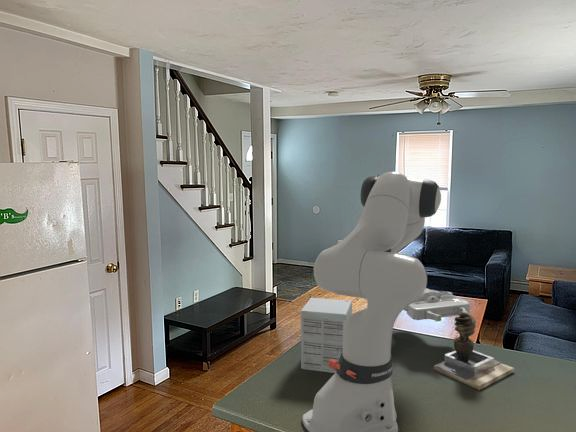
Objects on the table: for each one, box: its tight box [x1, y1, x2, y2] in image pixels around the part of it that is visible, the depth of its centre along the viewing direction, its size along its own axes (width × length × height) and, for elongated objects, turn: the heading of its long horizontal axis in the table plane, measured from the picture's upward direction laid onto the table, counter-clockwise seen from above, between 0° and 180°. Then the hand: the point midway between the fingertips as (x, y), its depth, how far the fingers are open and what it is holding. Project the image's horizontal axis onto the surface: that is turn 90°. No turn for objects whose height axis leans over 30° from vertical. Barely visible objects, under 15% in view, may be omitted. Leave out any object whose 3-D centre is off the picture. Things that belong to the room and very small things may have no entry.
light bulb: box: [453, 313, 477, 362], centre depth 123 cm, size 6×6×15 cm
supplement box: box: [300, 297, 353, 374], centre depth 128 cm, size 13×13×18 cm
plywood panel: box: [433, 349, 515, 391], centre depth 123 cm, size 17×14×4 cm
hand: (453, 317), depth 131 cm, fingers open, 8 cm apart
